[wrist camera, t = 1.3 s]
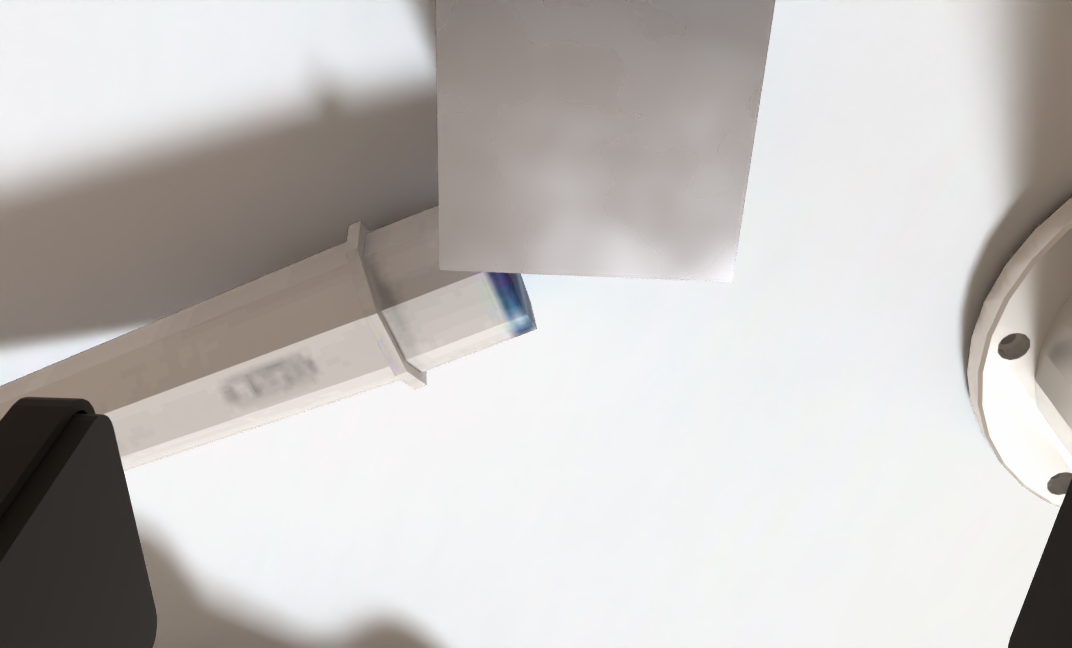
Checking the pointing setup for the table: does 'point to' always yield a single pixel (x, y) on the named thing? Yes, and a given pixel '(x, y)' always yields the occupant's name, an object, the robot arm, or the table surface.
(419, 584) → the table surface
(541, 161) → the brushed grey cube
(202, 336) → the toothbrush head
